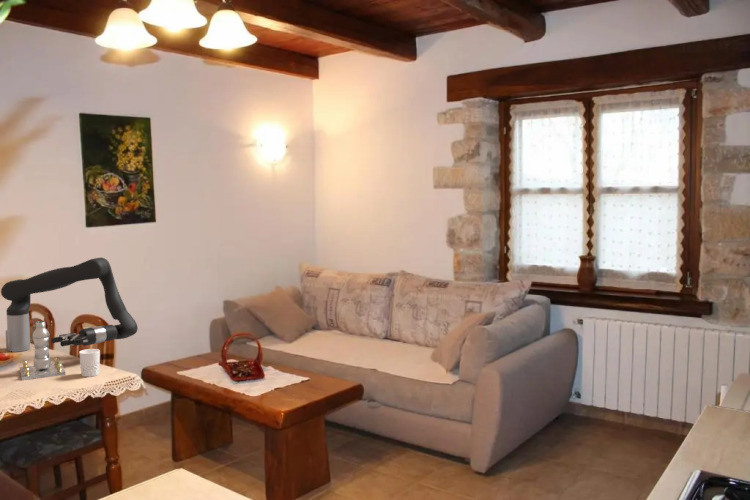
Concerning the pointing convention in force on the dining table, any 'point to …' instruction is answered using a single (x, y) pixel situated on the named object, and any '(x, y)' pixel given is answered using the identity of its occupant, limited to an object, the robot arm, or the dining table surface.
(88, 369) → the white cup
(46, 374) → the plate
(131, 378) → the dining table surface
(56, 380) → the dining table surface
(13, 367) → the dining table surface
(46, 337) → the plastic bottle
